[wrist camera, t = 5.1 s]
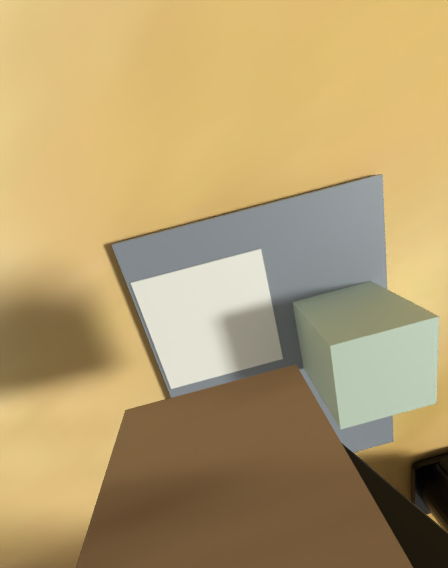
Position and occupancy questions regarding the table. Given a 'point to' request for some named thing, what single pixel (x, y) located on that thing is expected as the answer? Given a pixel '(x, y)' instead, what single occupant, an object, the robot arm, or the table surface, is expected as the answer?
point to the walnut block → (236, 486)
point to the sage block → (368, 352)
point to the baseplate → (255, 287)
